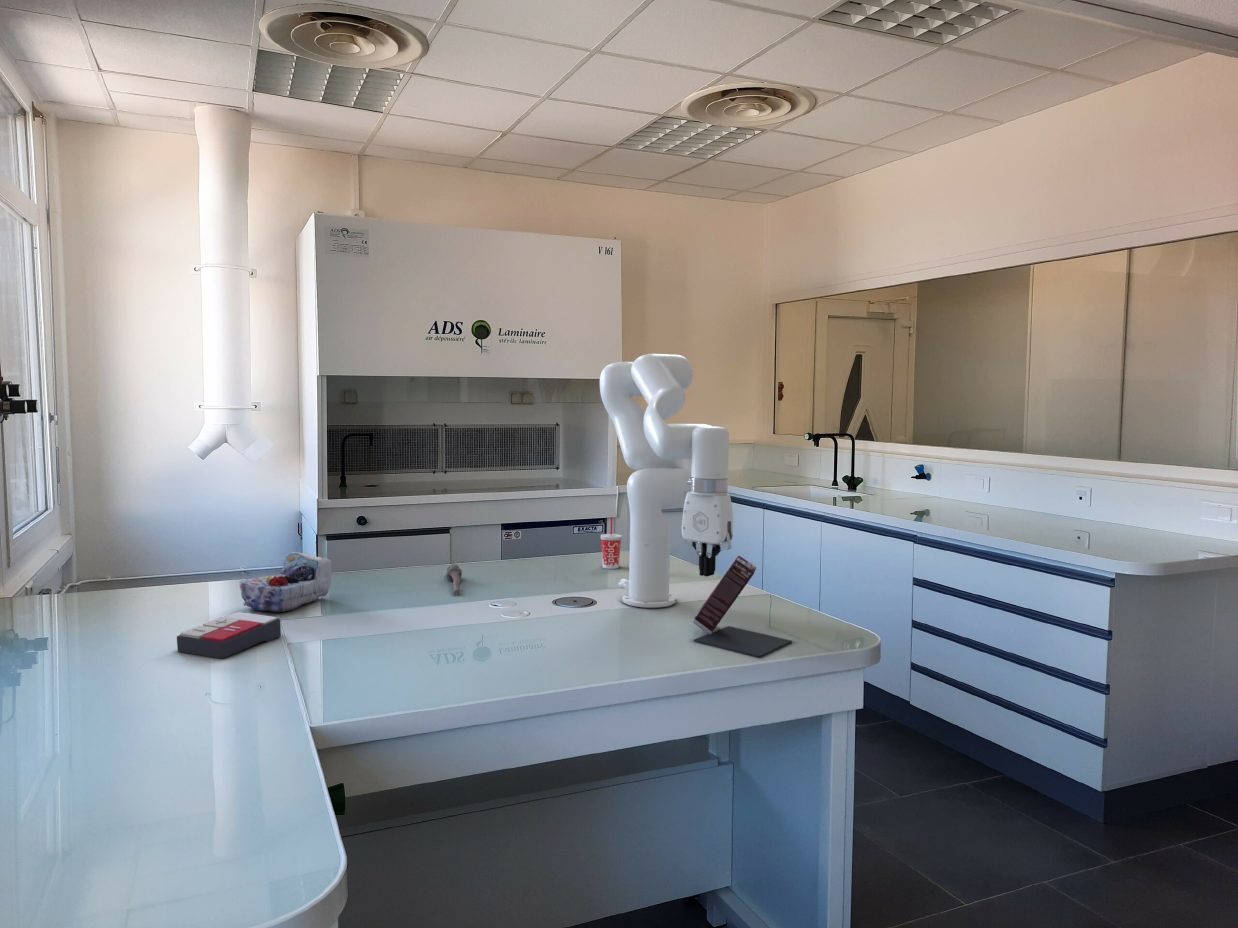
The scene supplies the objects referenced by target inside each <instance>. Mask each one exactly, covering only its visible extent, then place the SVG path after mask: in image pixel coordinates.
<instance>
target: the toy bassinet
mask: <svg viewBox="0 0 1238 928" xmlns="http://www.w3.org/2000/svg"><path fill="white" fill-rule="evenodd" d="M332 564H333V563H332V560H331V559H329V558H325V557H321V556H320V557H319V556H316V555H311V554H308V553H303V552H298V551H292V552H290V553H288V554H287V555H286V556H285V558H284V561H283V566H282V570H281V572H280V573H279V574H274V575H267V576H259V577H253V578H247V579H241V580H239V588H240V595H241V598H242V600H243V601H244V602H243V603H242V605H243V607H248V608H252V609H253V610H256V611H259V612H272V613H282V612H287V611H289V612H290V611H293V610H295V609H297V608H299V607H301V606H302V605H305V604H309V603H311V602H315V601H317V600H318V599H319V598H320V597H325V596H327V595H328V594H329V591H330V588H331V583H332V573H333V568H332V567H333V566H332Z"/></svg>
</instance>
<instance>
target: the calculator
mask: <svg viewBox="0 0 1238 928" xmlns="http://www.w3.org/2000/svg"><path fill="white" fill-rule="evenodd" d="M281 636H282V630H281V619H280V618H279V617H277V616H270V615H263V614H255V613H249V612H243V611H242V612H241V611H235V612H233V613H230V614H228V615H225V616H220V617H217V618H214V619H213V620H210V621H208V622H205V623H203V624H202V625H197V626H195V627H192V628H189V629H187V630H184V631H181V632H180V633H179V635H176V647H177V652H179V653H184V654H190V655H197V656H204V657H208V658H213V659H220V660H222V659H226V658H228V657H230V656H232V655H235V654H237V653H239V652H241V651H244V650H246V649H248V648H250V647H253V646H255V645H257V644H259V643H262V642H267V643H268V642H271V641H273V640H275V639H277V638H280V637H281Z"/></svg>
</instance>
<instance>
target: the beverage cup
mask: <svg viewBox="0 0 1238 928" xmlns="http://www.w3.org/2000/svg"><path fill="white" fill-rule="evenodd" d="M622 539H623V535H622V534H619V533H613V517H610V533H603V534H600V540H601V562H602V565H601V566H602V568H603V569H608V570H615V569H619V568H620V555H621V545H622V544H621V542H622Z"/></svg>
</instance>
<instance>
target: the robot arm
mask: <svg viewBox="0 0 1238 928" xmlns="http://www.w3.org/2000/svg"><path fill="white" fill-rule="evenodd" d="M693 379H694V370H693V366H692V364H691V362H690V361H689V360H688V358H687V357H685V356H683V355H680V354H665V353H647V354H643V355H640V356H638V357H637V358H636V359H635V360H634V361H617V362H613V363H609V364H607V365H606V366H605V367H603V369H602V370H601V372H600V376H599V394H600V398H601V401H602V405H603V406H604V409H605V410H606V412H607V414H608V416H609V418H610V419H611V421H612V423H613V426H614V429H615V433H616V436H617V440H618V442H619V446H620V450H621V453H622V457H623V460H624V462H625V464H626V465H627V467H628V468H630V469H631V470H636V471H634V472H632V473H631V474H630V476H629V477H628V478H627V481H626V494H627V501H628V508H629V561H628V562H629V568H628V569H629V570H628V579H626V578H621V579H620V580H619V582H618V583H617V588H618V589H622V590H623V589H624V593H623V594H622V596H621V601H622V603H624V604H626V605H627V606H631V607H637V608H646V609H657V608H659V609H661V608H667V607H670V606H673V605H674V604H675V603H676V596H675V595H673V594H672V593H670V572H671V571H670V570H671V569H670V568H671V566H670V564H671V526H670V523H669V521H668V520H667V518H666V517H665V515H664V513H663V512H662V510H669V509H683V511H682V520H681V537H682V538H683V539H684V543H685V544H686V545H689V546H691V547H692V548H693V549H694V550H695V552H696V556H697V557H698V570H699V572H698V573H699V576H700V577H702V576H704V577H710V576H714V575H715V572H716V559H717V557H718V555H719V554H720V553H721V552H722V551H727V550H731V549H732V542H731V541H732V540H733V537H734V536H733V535H734V513H733V505H732V504H733V503H732V499H731V498H732V497H731V494H729V493H728V485H729V452H730V432H729V430H728V429H727V428H726V427H723V426H717V425H716V426H714V425H713V426H712V425H710V424H706V423H667V422H666V421H665V420H667V419H669V418H671V417H673V416H674V415H676V414H678V412H680V410H681V409H682V408H683V407H684V405H685V403H686V393H685V391H686V390H687V389H689V388H690V386H691V384H692V382H693ZM632 397H635V398H636V397H639V398H641V397H642V398H643V399H644V400H645V402H646V404H647V406H646V409H645V410H644V408H642V406H641V405H640V404H639V403H637V401H635V400H634V399H633V398H632Z"/></svg>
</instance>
